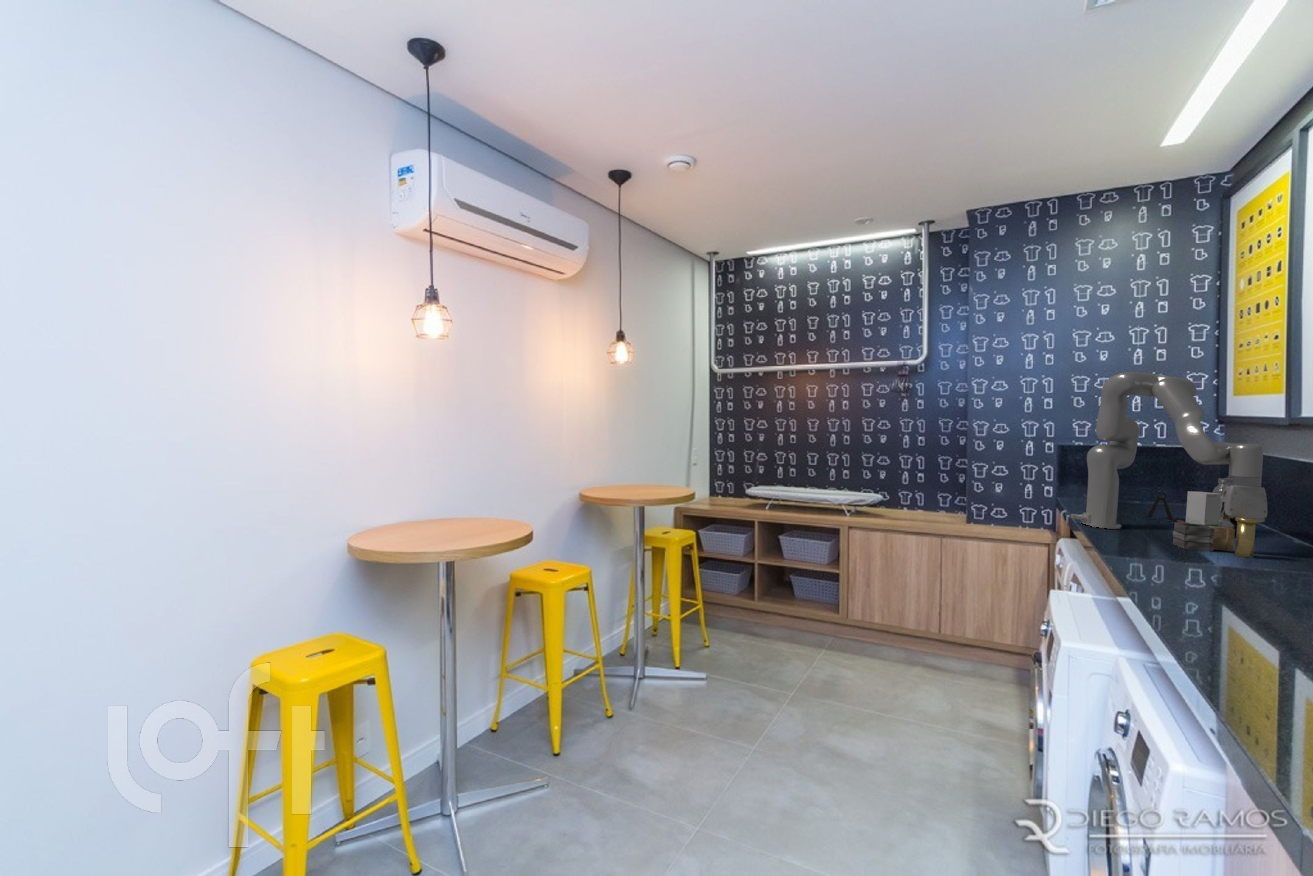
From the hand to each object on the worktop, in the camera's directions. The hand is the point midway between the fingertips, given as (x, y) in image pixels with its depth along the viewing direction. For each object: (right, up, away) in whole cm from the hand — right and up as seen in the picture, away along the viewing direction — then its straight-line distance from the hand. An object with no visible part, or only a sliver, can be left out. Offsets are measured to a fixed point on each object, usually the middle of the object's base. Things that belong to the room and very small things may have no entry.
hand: (1241, 539), depth 190 cm
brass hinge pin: (-5, -5, -6) cm, 8 cm away
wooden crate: (-9, -4, +3) cm, 10 cm away
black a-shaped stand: (+23, -2, +58) cm, 62 cm away
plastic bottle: (+28, -3, +36) cm, 45 cm away
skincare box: (+13, -3, +28) cm, 31 cm away
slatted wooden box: (-10, -4, +7) cm, 13 cm away
